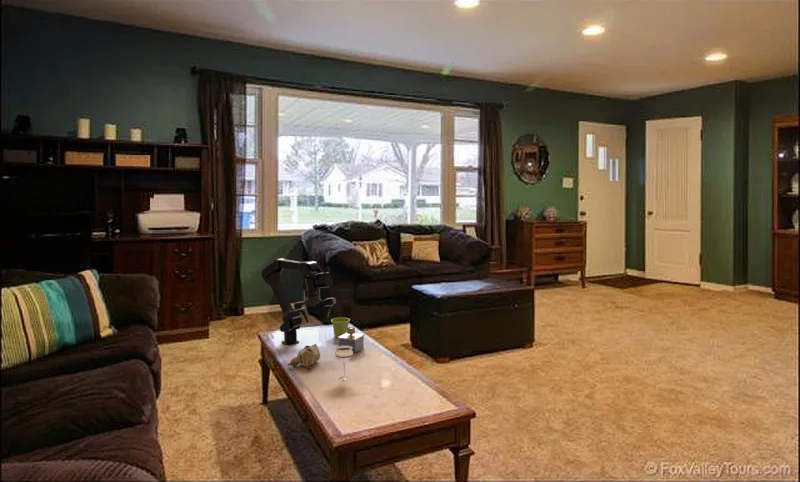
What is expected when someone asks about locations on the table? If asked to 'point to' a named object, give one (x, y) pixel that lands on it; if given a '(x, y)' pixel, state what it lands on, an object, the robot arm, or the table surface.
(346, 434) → the table surface
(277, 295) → the robot arm
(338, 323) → the plant pot
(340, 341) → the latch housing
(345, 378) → the wineglass
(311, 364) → the ceramic sculpture
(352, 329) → the bronze domed cylinder
